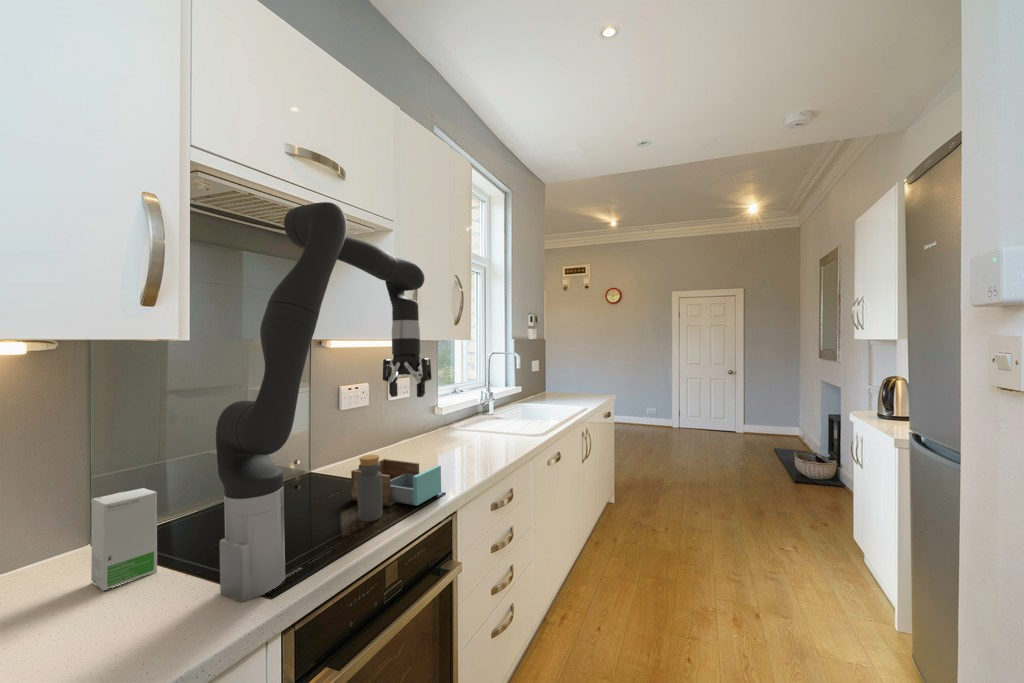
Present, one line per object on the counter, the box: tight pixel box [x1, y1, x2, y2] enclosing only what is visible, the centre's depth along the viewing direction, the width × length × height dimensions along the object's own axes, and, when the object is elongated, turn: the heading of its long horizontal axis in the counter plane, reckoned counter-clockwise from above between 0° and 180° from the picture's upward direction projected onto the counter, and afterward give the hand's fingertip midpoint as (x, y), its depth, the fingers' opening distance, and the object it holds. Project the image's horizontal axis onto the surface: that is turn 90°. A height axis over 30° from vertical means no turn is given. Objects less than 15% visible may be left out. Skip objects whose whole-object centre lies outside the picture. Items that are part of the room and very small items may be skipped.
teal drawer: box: [390, 465, 442, 506], centre depth 121 cm, size 11×12×7 cm
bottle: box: [357, 454, 384, 522], centre depth 109 cm, size 6×6×15 cm
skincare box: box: [90, 487, 158, 591], centre depth 83 cm, size 8×7×16 cm
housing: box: [350, 458, 420, 507], centre depth 125 cm, size 13×13×8 cm
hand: (407, 396), depth 120 cm, fingers open, 8 cm apart
